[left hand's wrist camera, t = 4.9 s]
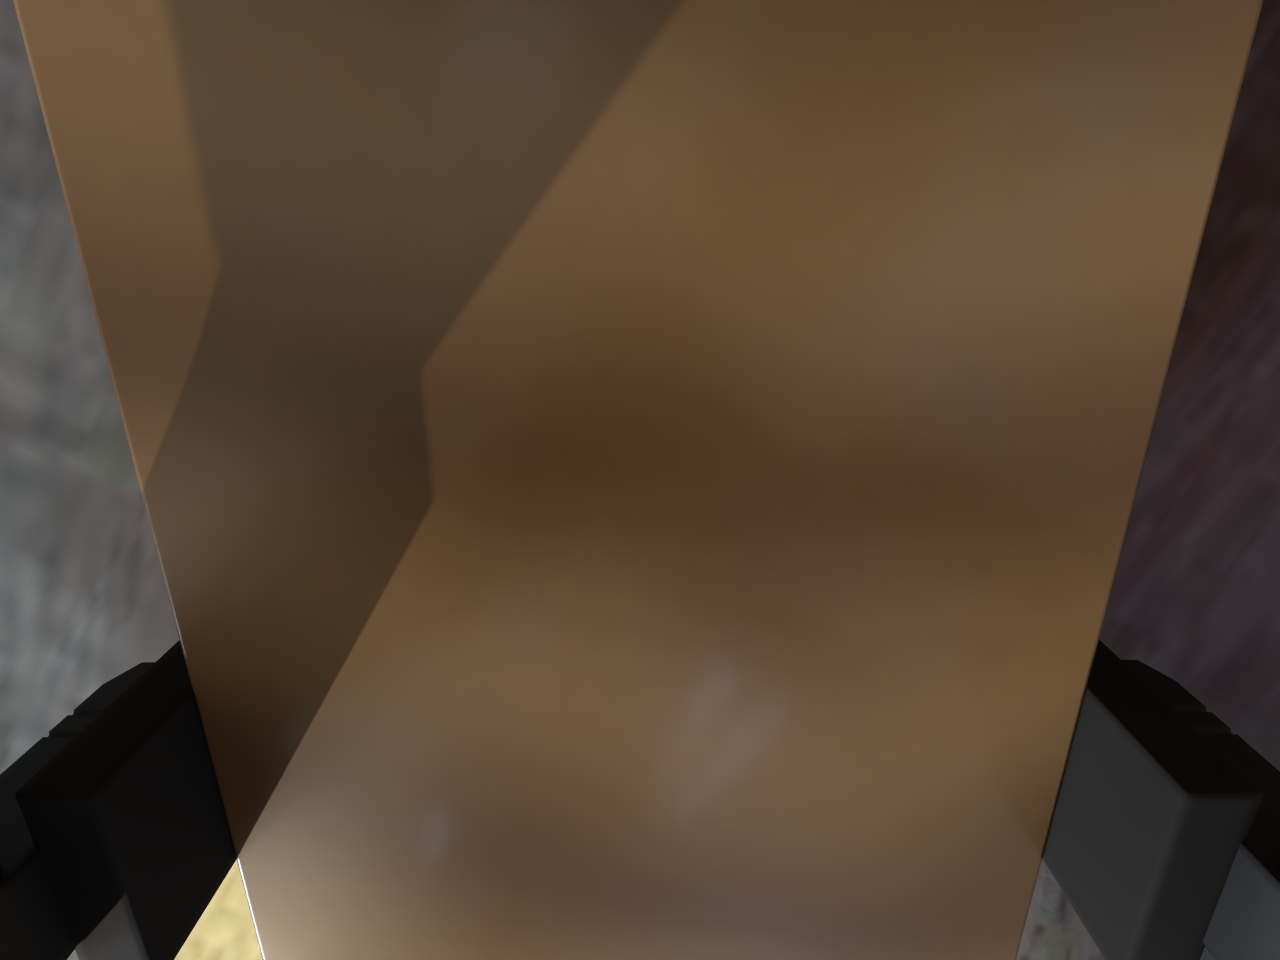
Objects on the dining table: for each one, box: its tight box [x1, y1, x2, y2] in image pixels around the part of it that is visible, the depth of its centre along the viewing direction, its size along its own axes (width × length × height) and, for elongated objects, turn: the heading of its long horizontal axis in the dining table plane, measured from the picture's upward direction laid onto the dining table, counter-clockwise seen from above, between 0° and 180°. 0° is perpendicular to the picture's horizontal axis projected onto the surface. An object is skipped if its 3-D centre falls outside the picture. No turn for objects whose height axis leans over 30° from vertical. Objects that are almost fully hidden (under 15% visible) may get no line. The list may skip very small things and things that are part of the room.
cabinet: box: [13, 0, 1264, 960], centre depth 13 cm, size 17×11×11 cm, turn 0°
